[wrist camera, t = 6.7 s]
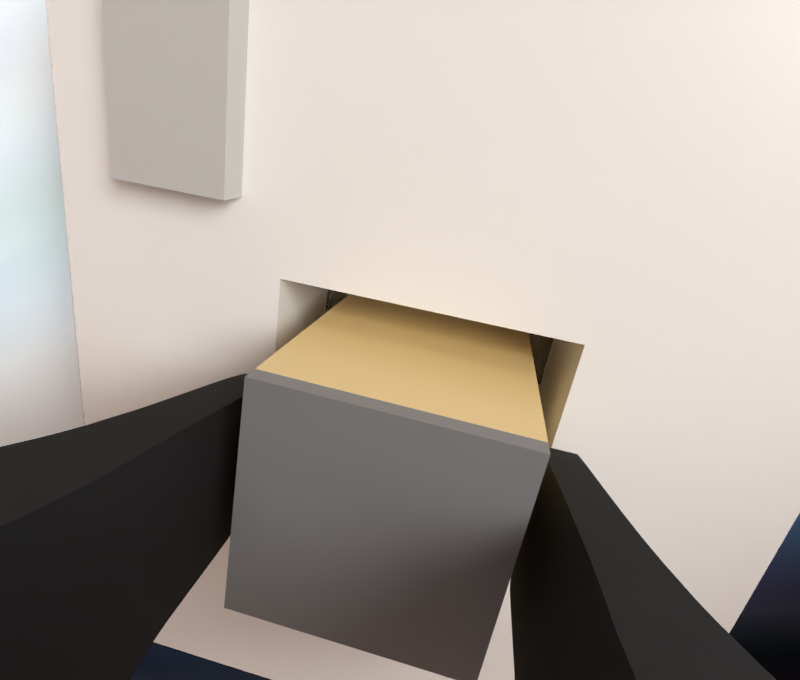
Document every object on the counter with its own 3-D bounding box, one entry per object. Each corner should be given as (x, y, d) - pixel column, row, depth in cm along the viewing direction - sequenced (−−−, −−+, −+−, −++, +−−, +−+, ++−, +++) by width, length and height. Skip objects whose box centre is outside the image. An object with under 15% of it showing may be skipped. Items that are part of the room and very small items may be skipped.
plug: (526, 322, 12) (550, 453, 6) (486, 469, 13) (475, 685, 8) (360, 285, 12) (244, 376, 7) (337, 430, 14) (224, 607, 8)
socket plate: (907, 54, 9) (1146, 4, 6) (611, 674, 15) (640, 825, 12) (159, -50, 10) (-2, -139, 7) (170, 545, 17) (86, 646, 13)
